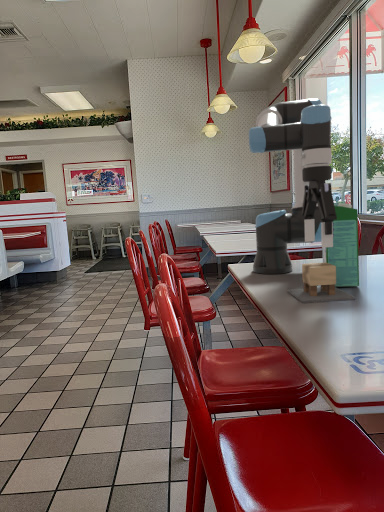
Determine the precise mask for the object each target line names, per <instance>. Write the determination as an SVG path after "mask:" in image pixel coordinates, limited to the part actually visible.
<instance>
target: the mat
mask: <svg viewBox="0 0 384 512" xmlns="http://www.w3.org/2000/svg"><path fill="white" fill-rule="evenodd" d="M287 292H288V293H289V295H290V294H291V295H292V296H293V297H294V298H296V299H297V300H298V301H299V302H300V303H302V304H307V303H319V302H320V303H321V302H323V303H324V302H338V301H348V300H349V301H350V300H351V301H352V300H356V296H354V295H352V294H349V293H348V292H346V291H344V290H342V289H339V288H338V287H337V286H336V287H335V295H328V294H327V291H321V286H320V287H319V286H317V296H310V295H309V292H304V287H303V288H291V289H289V288H288V289H287Z"/></svg>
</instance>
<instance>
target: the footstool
mask: <svg viewBox="0 0 384 512" xmlns="http://www.w3.org/2000/svg"><path fill="white" fill-rule="evenodd" d="M301 268H302V269H301V272H302V274H301V275H302V279H301V280H302V283H303V288H304V292H309V295H310V296H317V287H318V286H320V287H321V291H327V294H328V295H335V284H336V266H334V265H332V264H329V263H326V262H325V263H323V262H311V263H302V264H301Z"/></svg>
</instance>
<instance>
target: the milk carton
mask: <svg viewBox="0 0 384 512" xmlns="http://www.w3.org/2000/svg"><path fill="white" fill-rule="evenodd" d="M334 206H335V211H336V216H337V219H336V220H334V221H333V247H325V248H322V247H321V248H322V249H321V250H322V251H321V252H322V263H325V262H326V263H329V264H332V265H334V266H336V284H335V287H336V288H337V287H359V286H360V268H359V267H360V266H359V265H360V263H359V261H360V259H359V221H358V220H359V217H358V216H359V215H358V213H359V212H358V211H359V210H358V208H353V207H352V206H353V205H351V204H350V203H349V204H348V203H342V202H339V203H338V205H336V204H334ZM321 218H322V217H321Z"/></svg>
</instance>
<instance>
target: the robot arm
mask: <svg viewBox="0 0 384 512" xmlns="http://www.w3.org/2000/svg"><path fill="white" fill-rule="evenodd" d="M255 125H256V126H253V127H251V128H249V129H248V146H249V151H250V152H251V153H253V154H257V153H258V154H264V153H271V152H281V151H292V150H293V163H294V165H293V167H294V171H293V172H294V192H295V195H294V196H295V197H294V198H295V199H294V200H295V201H294V202H295V204H294V205H293V206H292V207H291V212H289V213H288V212H287V211H286V209H282V210H274V211H268V212H264V213H260V214H258V215H257V216H256V217H255V226H254V227H255V236H256V237H255V238H256V239H255V240H256V254H255V257H254V261H253V264H252V272H254V273H255V274H262V275H278V274H285V273H287V274H288V273H291V272H292V271H293V264H292V261H291V258H290V255H289V252H288V244H289V245H290V244H313V243H321V248H325V247H333V221H334V220H336V219H337V216H336V211H335V206H334V205H335V201H334V198H333V192H332V183H331V182H329V183H328V182H327V183H326V181H330V180H332V178H333V177H332V166H331V164H332V162H333V159H332V156H333V155H332V145H331V144H332V139H331V138H332V115H331V107H330V106H329V105H327V104H323V103H322V100H321V99H319V98H305V99H299V100H290V101H281V102H277V103H273V104H270V105H269V106H267V107H265V108H263V109H262V111H260V112H259V113H258V115H257V117H256V121H255ZM321 217H322V218H321Z"/></svg>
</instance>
